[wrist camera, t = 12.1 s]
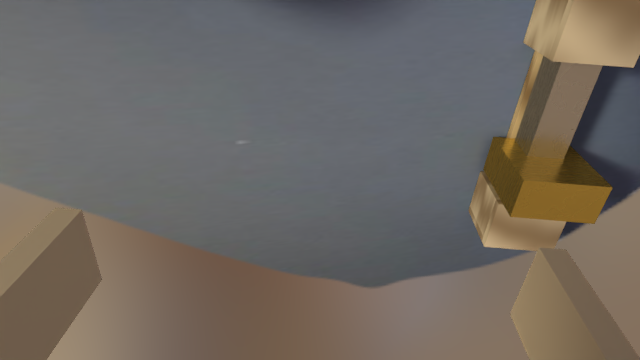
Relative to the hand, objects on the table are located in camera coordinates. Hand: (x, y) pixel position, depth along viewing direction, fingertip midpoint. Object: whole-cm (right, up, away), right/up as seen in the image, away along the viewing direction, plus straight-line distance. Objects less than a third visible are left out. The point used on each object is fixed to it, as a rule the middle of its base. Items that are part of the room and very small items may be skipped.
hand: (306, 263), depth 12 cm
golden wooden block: (+21, +8, +27) cm, 34 cm away
